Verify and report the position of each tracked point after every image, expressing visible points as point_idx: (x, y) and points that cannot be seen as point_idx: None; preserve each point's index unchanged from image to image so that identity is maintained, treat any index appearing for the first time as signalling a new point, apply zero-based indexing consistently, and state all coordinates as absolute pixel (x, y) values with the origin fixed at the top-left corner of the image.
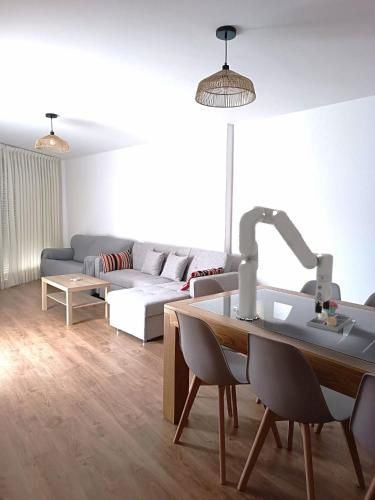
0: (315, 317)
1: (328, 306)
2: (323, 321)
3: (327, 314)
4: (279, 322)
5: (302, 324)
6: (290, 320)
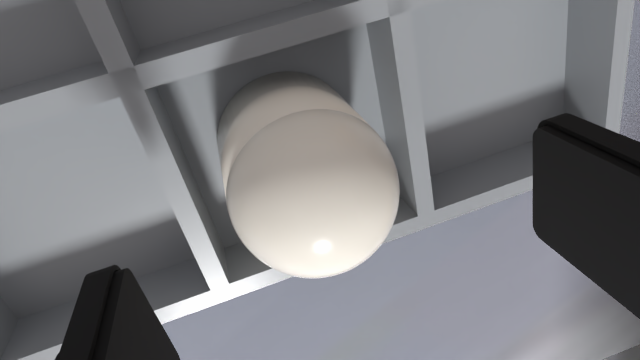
0: None
1: (114, 322)
2: (407, 60)
3: (280, 129)
4: (596, 332)
5: (524, 207)
6: (486, 342)
